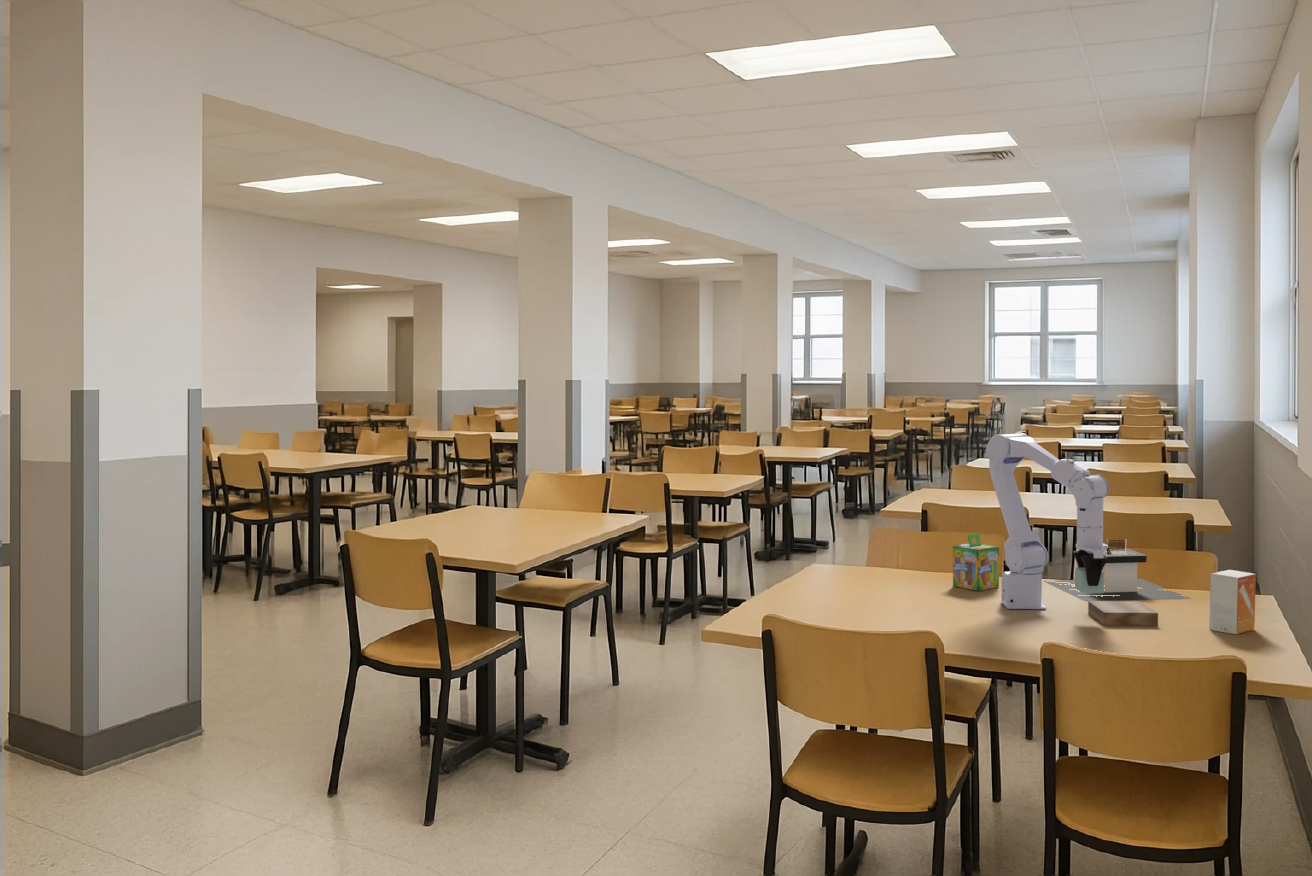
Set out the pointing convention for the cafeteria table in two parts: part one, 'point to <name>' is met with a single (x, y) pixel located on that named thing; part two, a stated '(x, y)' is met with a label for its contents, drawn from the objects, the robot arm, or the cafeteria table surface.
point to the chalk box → (975, 565)
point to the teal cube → (1083, 585)
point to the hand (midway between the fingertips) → (1089, 583)
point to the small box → (1232, 601)
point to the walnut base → (1123, 613)
